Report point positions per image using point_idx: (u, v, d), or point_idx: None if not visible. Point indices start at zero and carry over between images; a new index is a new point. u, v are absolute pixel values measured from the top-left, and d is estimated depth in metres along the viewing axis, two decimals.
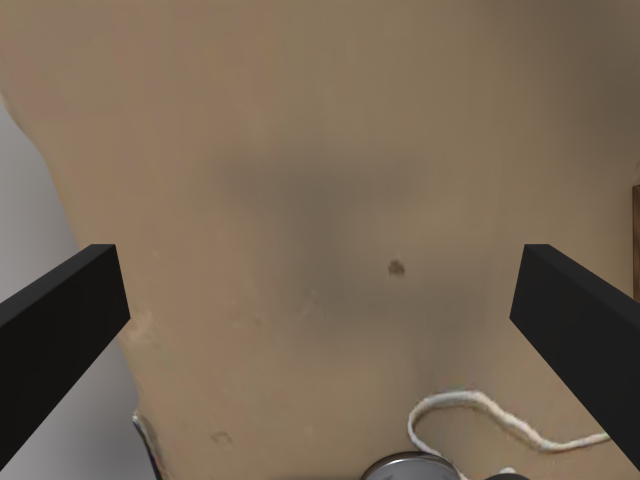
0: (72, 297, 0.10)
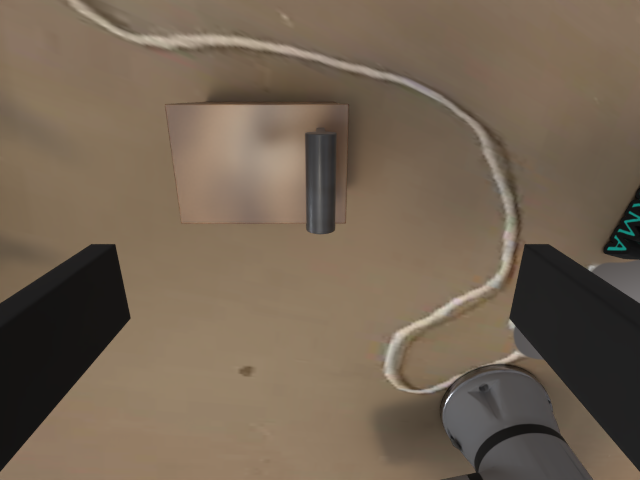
0: (72, 297, 0.10)
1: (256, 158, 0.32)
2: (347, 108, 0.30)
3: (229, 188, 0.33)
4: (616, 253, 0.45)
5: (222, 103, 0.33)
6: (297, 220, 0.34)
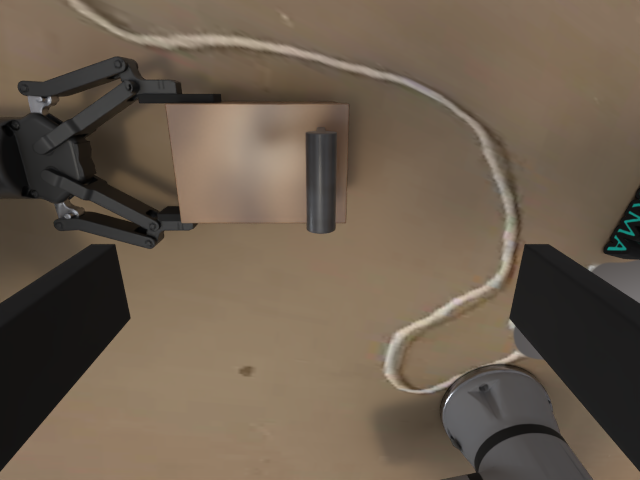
0: (72, 297, 0.10)
1: (256, 158, 0.32)
2: (348, 107, 0.30)
3: (229, 188, 0.33)
4: (616, 253, 0.45)
5: None
6: (297, 220, 0.34)
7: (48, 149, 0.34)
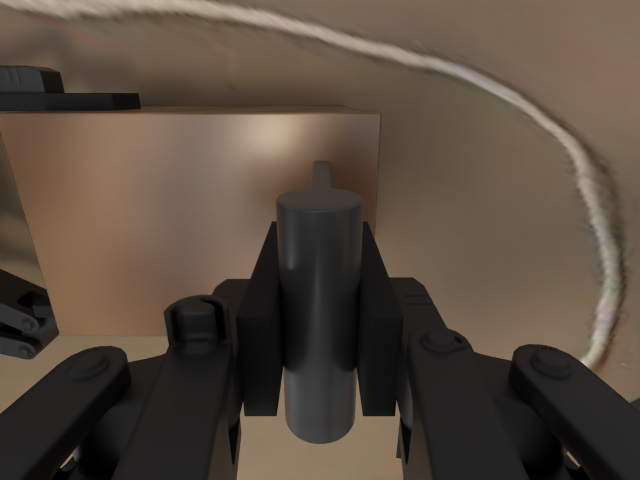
0: None
1: (193, 221, 0.16)
2: (379, 121, 0.14)
3: (144, 275, 0.17)
4: None
5: (131, 110, 0.17)
6: None
7: None
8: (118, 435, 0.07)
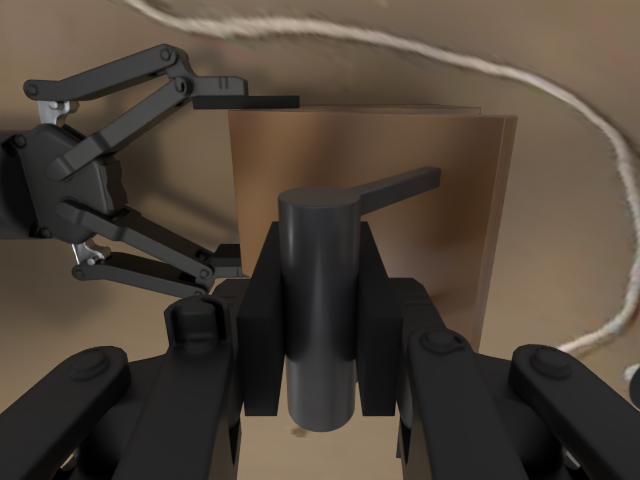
0: None
1: None
2: (501, 127, 0.12)
3: None
4: None
5: (308, 108, 0.23)
6: None
7: (66, 174, 0.24)
8: (118, 435, 0.07)
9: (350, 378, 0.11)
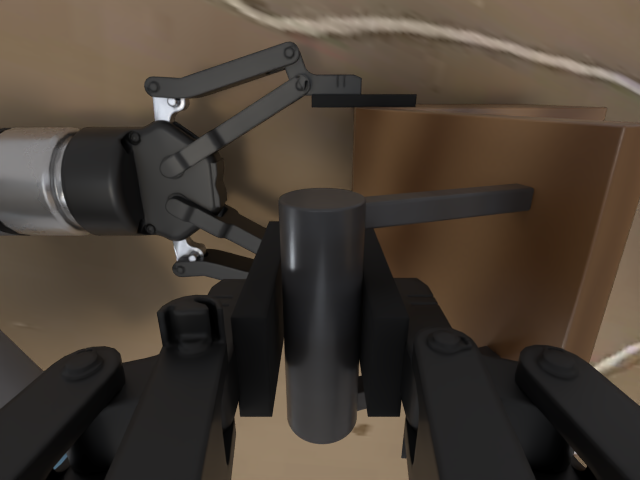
0: None
1: None
2: (617, 139, 0.09)
3: (386, 249, 0.20)
4: None
5: None
6: None
7: (180, 171, 0.24)
8: (111, 436, 0.07)
9: (338, 397, 0.10)
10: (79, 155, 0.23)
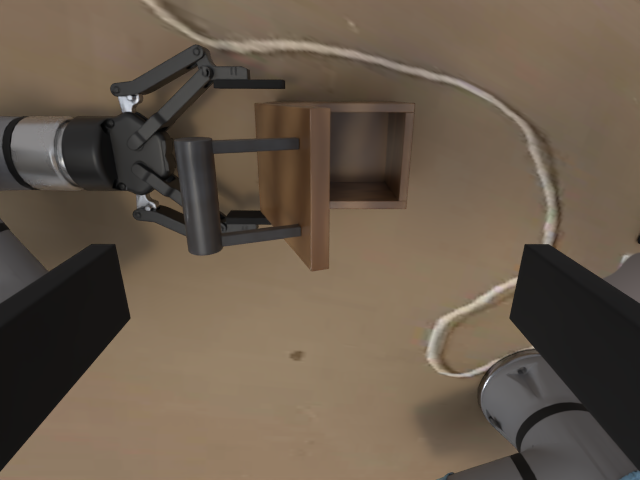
0: (72, 297, 0.10)
1: (276, 164, 0.29)
2: (309, 113, 0.21)
3: (270, 189, 0.32)
4: None
5: None
6: (291, 244, 0.28)
7: (140, 144, 0.37)
8: None
9: (206, 230, 0.23)
10: (73, 133, 0.36)
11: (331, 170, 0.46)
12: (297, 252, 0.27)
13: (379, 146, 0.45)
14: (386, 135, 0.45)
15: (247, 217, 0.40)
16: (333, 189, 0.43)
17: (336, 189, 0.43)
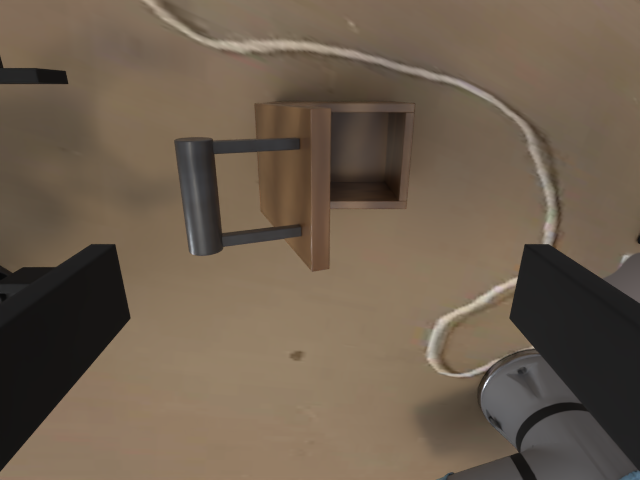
0: (72, 297, 0.10)
1: (277, 164, 0.29)
2: (310, 114, 0.21)
3: (270, 189, 0.32)
4: None
5: None
6: (291, 244, 0.28)
7: None
8: None
9: (207, 230, 0.22)
10: None
11: (331, 170, 0.46)
12: (297, 252, 0.27)
13: (379, 146, 0.45)
14: (386, 135, 0.45)
15: (28, 284, 0.26)
16: (333, 189, 0.43)
17: (336, 189, 0.43)
